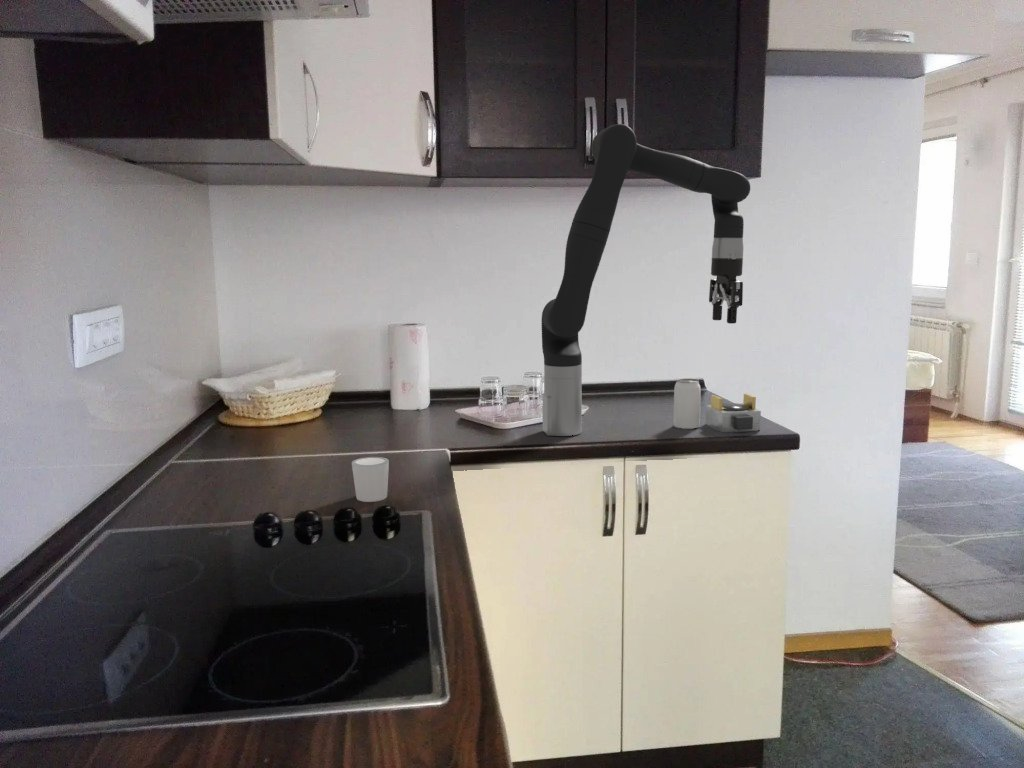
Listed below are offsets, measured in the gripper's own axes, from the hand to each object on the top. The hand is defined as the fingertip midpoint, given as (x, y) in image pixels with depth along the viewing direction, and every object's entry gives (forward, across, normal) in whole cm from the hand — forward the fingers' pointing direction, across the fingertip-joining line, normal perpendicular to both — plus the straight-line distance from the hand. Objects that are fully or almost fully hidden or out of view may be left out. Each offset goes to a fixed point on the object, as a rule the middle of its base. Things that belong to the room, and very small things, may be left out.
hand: (724, 321), depth 202 cm
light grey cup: (+28, +43, -88) cm, 102 cm away
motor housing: (+26, +4, +2) cm, 27 cm away
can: (+27, +1, -9) cm, 28 cm away
